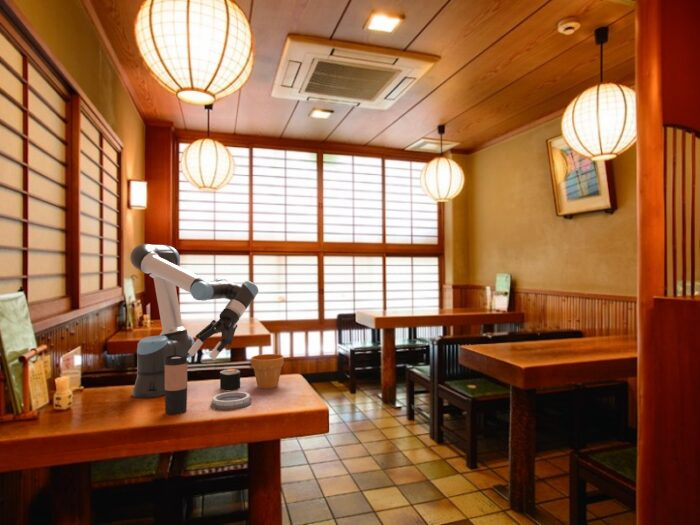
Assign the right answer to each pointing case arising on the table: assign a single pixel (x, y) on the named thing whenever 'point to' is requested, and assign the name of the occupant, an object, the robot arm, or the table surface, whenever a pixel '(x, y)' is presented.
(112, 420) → the table surface
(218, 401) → the gray ring
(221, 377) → the sushi
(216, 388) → the table surface
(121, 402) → the table surface
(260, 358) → the flower pot
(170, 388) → the travel mug
